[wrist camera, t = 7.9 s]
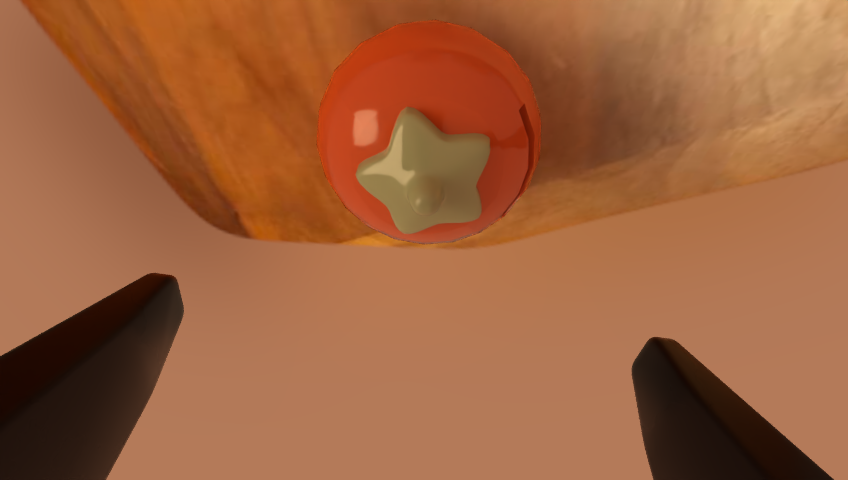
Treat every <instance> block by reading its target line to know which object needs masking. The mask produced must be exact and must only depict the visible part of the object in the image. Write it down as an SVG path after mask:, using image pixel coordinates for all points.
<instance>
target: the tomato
mask: <svg viewBox="0 0 848 480" xmlns="http://www.w3.org/2000/svg"><path fill="white" fill-rule="evenodd" d="M540 144H541V116H540V111H539V108H538V105H537V102H536V98H535V95H534V92H533V89H532V85H531V82H530V80H529V78H528V77H527V76H526V75H525V73H524V72H523V71H522V69H521V68H520V67H519V66H518V64H517V63H516V62H515V60H514V59H513V58H512V56H511V55H510V54H509V53H508V51H507V50H505V49H503V48H502V47H500V46H499V45H497V44H496V43H494V42H493V41H491V40H489V39H488V38H486V37H485V36H483V35H482V34H480V33H479V32H477V31H476V30H474V29H472V28H470V27H466V26H462V25H457V24H453V23H448V22H444V21H439V20H428V21H419V22H410V23H401V24H398V25H395V26H393V27H391V28H389V29H387V30H385V31H383V32H381V33H379V34H377V35H375V36H373V37H372V38H370V39H368V40H366V41H364V42H362V43H360V44H359V45H358V46H357V47H356V48H355V49H354V50H353V51H352V52H351V53H350V54H349V56H348V57H347V58H346V59H345V60H344V61H343V62H342V63H341V64H340V65H339V66H338V67H337V68H336V69H335V70H334V73H333V75H332V77H331V80H330V82H329V84H328V87H327V89H326V91H325V94H324V96H323V98H322V101H321V104H320V109H319V117H318V132H317V149H318V152H319V156H320V159H321V163H322V167H323V170H324V174H325V177H326V178H327V180H328V181H329V183H330V184H331V186H332V188H333V189H334V191H335V192H336V194H337V195H338V197H339V198H340V200H341V201H342V203H343V204H344V206H345V208H346V209H348V210H349V211H350V212H351V213H352V214H354V215H355V216H356V217H357V218H358V219H360V220H361V221H362V222H363V223H364V224H365V225H367V226H368V227H370V228H372V229H374V230H376V231H378V232H380V233H383V234H385V235H387V236H389V237H391V238H393V239H397V240H402V241H408V242H413V243H419V244H434V243H449V242H455V241H458V240H460V239H463V238H466V237H469V236H472V235H475V234H478V233H480V232H482V231H483V230H485V229H486V228H488V227H489V226H491V225H492V224H494V223H495V222H497V221H498V220H500V219H501V218H503V217H504V216H505V215H506V214H507V213H508V211H509V210H510V209H511V208H512V206H513V205H514V204H515V203H516V201H517V200H518V199H519V198H520V197H521V195H522V194H523V193H524V192H525V190H526V189H527V188H528V186H529V184H530V181H531V179H532V176H533V174H534V171H535V169H536V166H537V164H538V161H539V159H540Z"/></svg>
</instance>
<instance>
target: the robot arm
mask: <svg viewBox="0 0 848 480" xmlns="http://www.w3.org/2000/svg"><path fill="white" fill-rule="evenodd" d="M183 313H184V307H183V302H182V298H181V294H180V290H179V285H178V282H177V279H176V278H175V277H174V276H172V275H166V274H158V273H150V274H147V275H145V276H143V277H142V278H140V279H138V280H136V281H134V282H133V283H131V284H129V285H127V286H125V287H124V288H122V289H120V290H118V291H117V292H115V293H113V294H111V295H110V296H108V297H106V298H104V299H102V300H101V301H99V302H97V303H95V304H93V305H92V306H90V307H88V308H86V309H84V310H82V311H81V312H79V313H77V314H75V315H73V316H72V317H70V318H68V319H66V320H65V321H63V322H61V323H59V324H57V325H56V326H54V327H52V328H50V329H48V330H47V331H45V332H43V333H41V334H39V335H38V336H36V337H34V338H32V339H30V340H29V341H27V342H25V343H23V344H22V345H20V346H18V347H16V348H14V349H12V350H11V351H9V352H8V353H5V354H4V355H2V356H0V480H106V479H107V477H108V475H109V473H110V471H111V469H112V468H113V466H114V464H115V462H116V460H117V458H118V456H119V454H120V453H121V451H122V449H123V447H124V445H125V443H126V442H127V440H128V438H129V436H130V434H131V432H132V430H133V429H134V427H135V425H136V423H137V421H138V419H139V417H140V416H141V414H142V412H143V410H144V408H145V406H146V404H147V402H148V400H149V398H150V396H151V394H152V392H153V390H154V388H155V385H156V383H157V381H158V378H159V375H160V373H161V371H162V368H163V366H164V363H165V361H166V358H167V356H168V353H169V351H170V348H171V346H172V343H173V340H174V338H175V336H176V333H177V331H178V328H179V326H180V323H181V321H182V317H183ZM632 379H633V384H634V390H635V396H636V401H637V407H638V413H639V419H640V425H641V430H642V436H643V441H644V446H645V450H646V454H647V458H648V462H649V465H650V469H651V472H652V476H653V479H654V480H834V479H833V478H831V477H830V476H829V475H828V474H827V473H826V472H825V471H824V470H822V469H821V468H820V467H819V466H818V465H817V464H815V463H814V462H813V461H812V460H811V459H810V458H809V457H808V456H806V455H805V454H804V453H803V452H802V451H801V450H800V449H799V448H797V447H796V446H795V445H794V444H793V443H792V442H790V441H789V440H788V439H787V438H786V437H785V436H784V435H783V434H781V433H780V432H779V431H778V430H777V429H775V427H773V426H772V425H771V424H770V423H769V422H768V421H767V420H766V419H764V418H763V417H762V416H761V415H760V414H759V413H758V412H756V411H755V410H754V409H753V408H752V407H751V406H750V405H748V404H747V403H746V402H745V401H744V400H743V399H742V398H740V397H739V396H738V395H737V394H736V393H735V392H733V391H732V390H731V389H730V388H729V387H728V386H727V385H726V384H725V383H723V382H722V381H721V380H720V379H719V378H718V377H717V376H715V375H714V374H713V373H712V372H711V371H710V370H709V369H707V368H706V367H705V366H704V365H703V364H702V363H701V362H699V361H698V360H697V359H696V358H695V357H694V356H693V355H691V354H690V353H689V352H688V351H687V350H686V349H685V348H684V347H682V346H681V345H680V344H679V343H678V342H676V341H675V340H672V339H667V338H660V337H653V338H651V339H649V340H648V341H647V343H646V344H645V346H644V347H643V349H642V350H641V352H640V353H639V355H638V356H637V358H636V359H635V361H634V363H633V366H632Z"/></svg>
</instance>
